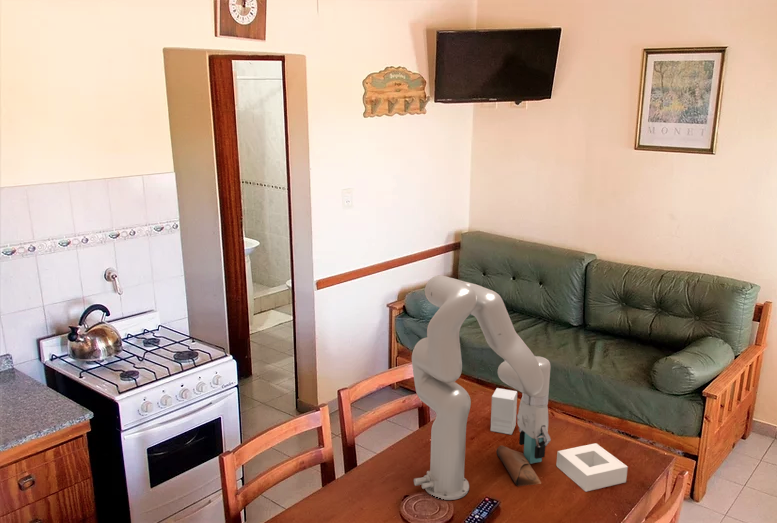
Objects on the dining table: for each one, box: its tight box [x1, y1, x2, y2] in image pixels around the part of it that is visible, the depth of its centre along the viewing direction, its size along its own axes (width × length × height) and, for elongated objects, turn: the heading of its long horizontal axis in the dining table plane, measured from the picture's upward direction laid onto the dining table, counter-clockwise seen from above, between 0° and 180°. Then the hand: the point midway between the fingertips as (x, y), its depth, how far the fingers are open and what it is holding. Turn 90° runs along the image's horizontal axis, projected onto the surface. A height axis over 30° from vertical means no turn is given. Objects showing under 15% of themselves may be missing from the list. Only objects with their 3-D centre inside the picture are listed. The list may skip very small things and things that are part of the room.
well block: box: [556, 442, 629, 492], centre depth 188 cm, size 14×14×5 cm
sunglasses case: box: [495, 445, 542, 487], centre depth 190 cm, size 18×7×7 cm, turn 9°
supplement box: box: [490, 387, 518, 436], centre depth 213 cm, size 7×7×13 cm
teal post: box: [523, 433, 543, 465], centre depth 195 cm, size 4×4×9 cm
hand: (531, 450), depth 195 cm, fingers open, 7 cm apart
